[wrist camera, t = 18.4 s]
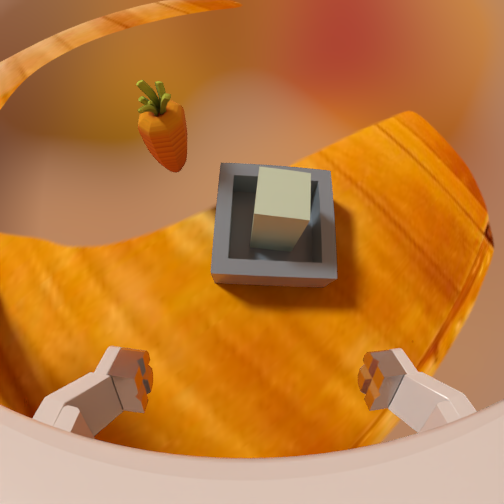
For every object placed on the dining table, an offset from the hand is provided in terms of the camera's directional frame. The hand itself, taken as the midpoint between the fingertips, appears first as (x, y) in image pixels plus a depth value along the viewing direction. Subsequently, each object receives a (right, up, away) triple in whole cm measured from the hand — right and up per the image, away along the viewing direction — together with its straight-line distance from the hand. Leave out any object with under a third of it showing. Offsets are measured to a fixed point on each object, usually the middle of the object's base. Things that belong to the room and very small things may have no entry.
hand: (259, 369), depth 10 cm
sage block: (+2, +7, +22) cm, 24 cm away
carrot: (-10, +14, +26) cm, 31 cm away
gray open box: (+2, +6, +24) cm, 25 cm away
